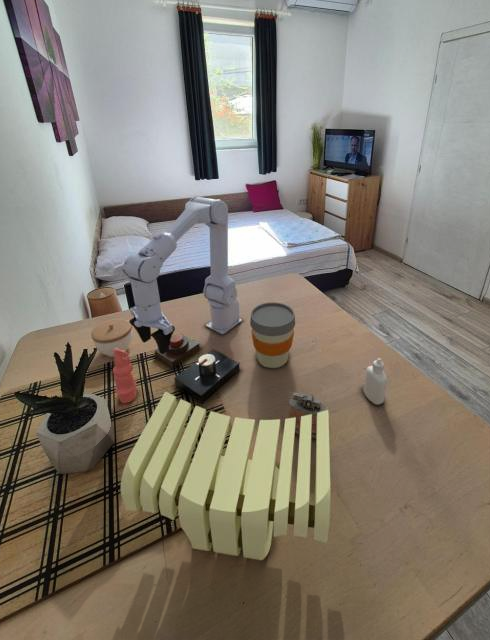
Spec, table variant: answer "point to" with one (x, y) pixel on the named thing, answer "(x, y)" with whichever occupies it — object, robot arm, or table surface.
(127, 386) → the figurine
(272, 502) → the slatted curved stool
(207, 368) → the dial
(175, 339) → the button
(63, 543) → the table surface
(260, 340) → the reusable coffee cup
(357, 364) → the table surface
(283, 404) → the table surface
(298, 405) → the lighter
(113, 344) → the trinket box
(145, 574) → the table surface
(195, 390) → the panel
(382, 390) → the eye dropper bottle
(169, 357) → the button block
